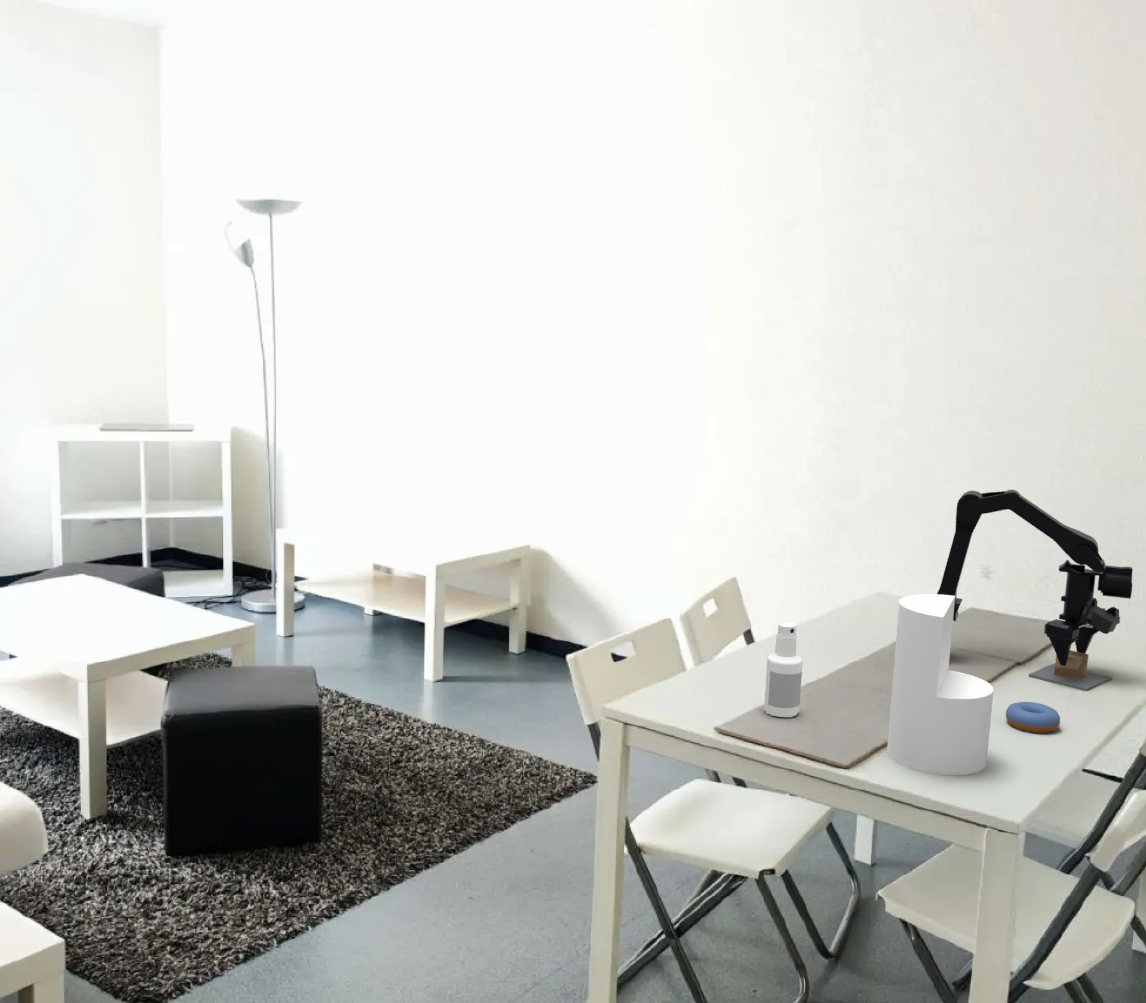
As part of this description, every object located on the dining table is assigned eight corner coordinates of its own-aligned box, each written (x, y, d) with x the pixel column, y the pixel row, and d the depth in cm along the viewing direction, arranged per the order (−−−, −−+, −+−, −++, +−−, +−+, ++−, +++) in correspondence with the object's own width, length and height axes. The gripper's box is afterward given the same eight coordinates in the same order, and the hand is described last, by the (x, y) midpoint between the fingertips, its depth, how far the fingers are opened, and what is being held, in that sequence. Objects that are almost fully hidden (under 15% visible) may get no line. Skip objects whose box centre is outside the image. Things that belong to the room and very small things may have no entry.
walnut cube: (1076, 680, 264) (1078, 658, 264) (1054, 675, 268) (1056, 653, 267) (1086, 676, 268) (1088, 654, 267) (1064, 670, 271) (1066, 649, 271)
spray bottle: (778, 720, 234) (783, 630, 231) (757, 709, 240) (762, 621, 237) (806, 716, 237) (812, 627, 234) (784, 705, 243) (790, 618, 240)
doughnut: (996, 724, 236) (1001, 702, 235) (1014, 714, 243) (1019, 693, 242) (1046, 742, 230) (1051, 719, 229) (1064, 732, 237) (1069, 710, 236)
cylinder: (879, 764, 214) (891, 610, 209) (895, 733, 230) (906, 589, 225) (981, 782, 207) (996, 624, 202) (990, 749, 223) (1004, 602, 218)
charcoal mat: (1086, 691, 259) (1086, 688, 259) (1028, 676, 268) (1028, 674, 268) (1111, 679, 268) (1111, 677, 268) (1054, 665, 277) (1054, 663, 277)
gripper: (1098, 607, 253) (1090, 678, 255) (1133, 594, 265) (1126, 662, 268) (1046, 596, 260) (1039, 666, 263) (1083, 584, 273) (1076, 650, 276)
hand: (1072, 661), depth 267 cm, fingers open, 9 cm apart
